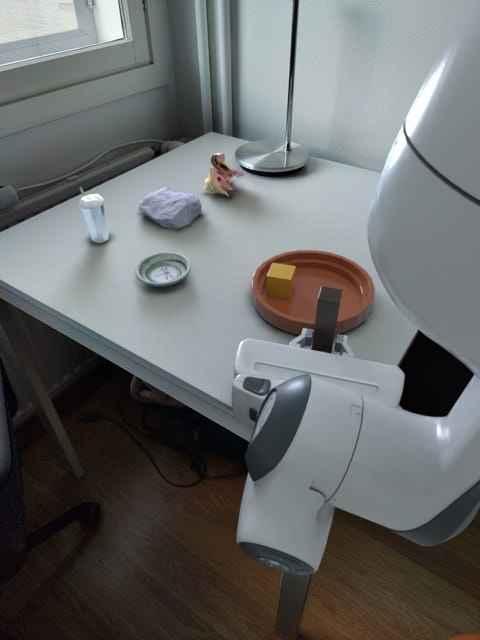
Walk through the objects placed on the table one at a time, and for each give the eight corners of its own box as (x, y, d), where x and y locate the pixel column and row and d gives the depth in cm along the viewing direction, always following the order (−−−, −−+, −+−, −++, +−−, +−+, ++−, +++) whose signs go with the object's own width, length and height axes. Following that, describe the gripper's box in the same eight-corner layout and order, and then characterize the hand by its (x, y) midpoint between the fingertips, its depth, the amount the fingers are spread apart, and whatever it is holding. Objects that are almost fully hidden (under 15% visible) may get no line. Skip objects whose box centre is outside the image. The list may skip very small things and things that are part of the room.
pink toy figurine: (211, 206, 103) (188, 168, 102) (222, 206, 112) (201, 172, 112) (246, 182, 100) (222, 144, 99) (253, 185, 110) (232, 150, 109)
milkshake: (102, 229, 95) (90, 183, 88) (116, 238, 92) (106, 192, 85) (82, 237, 93) (69, 191, 86) (96, 247, 90) (84, 200, 83)
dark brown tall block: (333, 365, 66) (347, 287, 56) (330, 384, 63) (343, 305, 54) (308, 360, 66) (317, 282, 57) (303, 379, 64) (313, 300, 54)
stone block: (179, 239, 95) (206, 210, 100) (172, 220, 91) (201, 191, 96) (136, 225, 100) (164, 199, 105) (129, 207, 96) (158, 181, 101)
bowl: (375, 274, 82) (378, 259, 80) (365, 349, 68) (369, 333, 66) (267, 258, 86) (268, 243, 84) (237, 326, 72) (237, 310, 70)
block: (294, 285, 79) (296, 265, 76) (289, 299, 76) (291, 279, 73) (271, 281, 80) (272, 262, 77) (266, 295, 77) (266, 276, 74)
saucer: (127, 275, 83) (125, 264, 81) (173, 256, 87) (172, 245, 85) (154, 302, 77) (152, 290, 75) (202, 280, 81) (201, 269, 80)
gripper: (410, 421, 47) (412, 332, 57) (219, 380, 51) (251, 304, 61) (397, 456, 51) (401, 366, 61) (221, 415, 56) (251, 338, 65)
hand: (324, 335), depth 61 cm, fingers open, 3 cm apart
